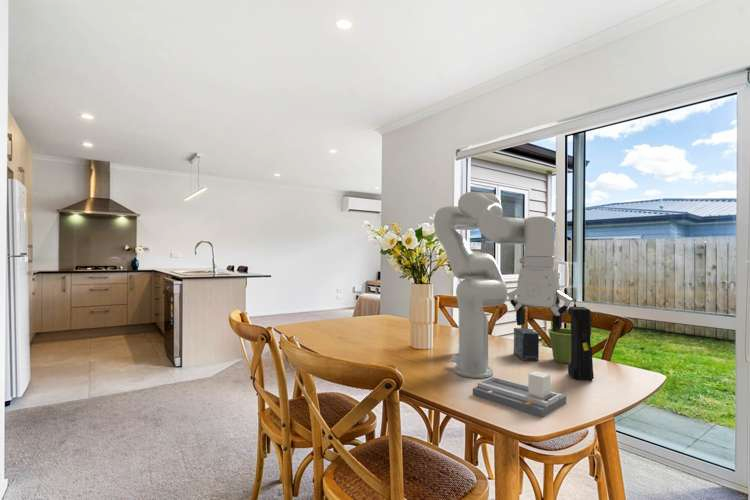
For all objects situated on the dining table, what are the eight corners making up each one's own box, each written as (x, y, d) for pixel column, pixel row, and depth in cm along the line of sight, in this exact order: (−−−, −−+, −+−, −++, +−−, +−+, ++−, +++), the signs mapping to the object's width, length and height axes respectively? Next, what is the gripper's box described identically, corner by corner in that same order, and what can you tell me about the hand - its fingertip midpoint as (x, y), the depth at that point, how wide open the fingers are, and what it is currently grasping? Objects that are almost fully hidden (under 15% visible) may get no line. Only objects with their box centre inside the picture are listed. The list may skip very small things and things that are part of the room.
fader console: (472, 395, 111) (472, 384, 111) (499, 384, 120) (499, 374, 120) (541, 417, 96) (541, 404, 96) (566, 403, 105) (566, 391, 105)
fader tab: (526, 397, 103) (526, 374, 103) (536, 392, 107) (537, 370, 107) (541, 401, 100) (541, 378, 100) (551, 396, 104) (551, 373, 104)
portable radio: (595, 382, 123) (595, 302, 123) (574, 381, 124) (574, 301, 124) (587, 374, 130) (587, 299, 130) (567, 373, 131) (567, 299, 132)
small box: (540, 361, 146) (540, 333, 146) (522, 361, 146) (522, 333, 146) (529, 353, 157) (529, 327, 157) (512, 353, 157) (512, 327, 157)
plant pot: (544, 362, 145) (544, 331, 145) (549, 355, 155) (549, 326, 155) (581, 367, 138) (581, 335, 138) (583, 359, 149) (583, 330, 149)
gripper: (501, 262, 108) (501, 324, 108) (566, 264, 95) (565, 335, 95) (515, 261, 113) (515, 321, 113) (578, 264, 100) (577, 331, 100)
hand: (538, 327), depth 104 cm, fingers open, 9 cm apart
